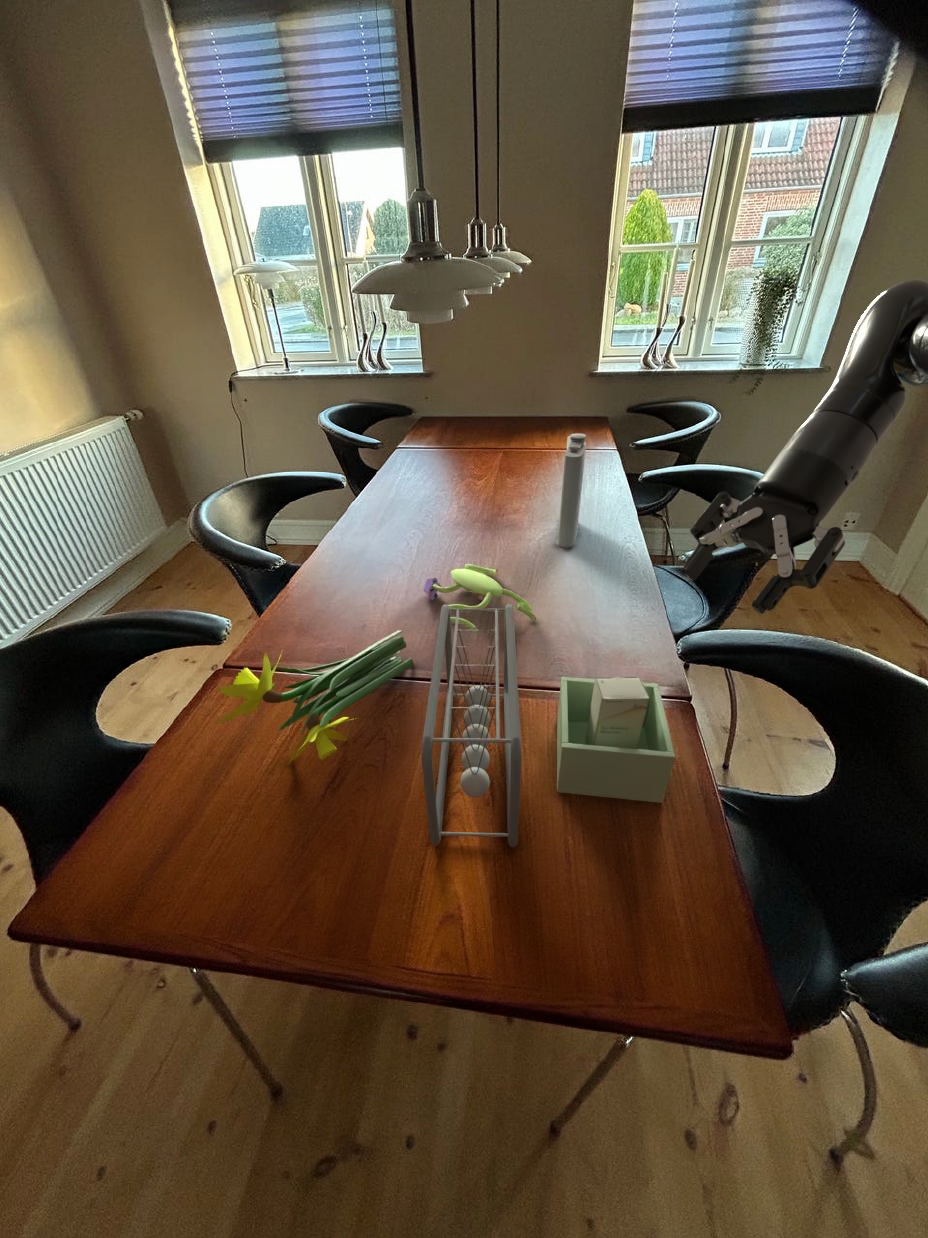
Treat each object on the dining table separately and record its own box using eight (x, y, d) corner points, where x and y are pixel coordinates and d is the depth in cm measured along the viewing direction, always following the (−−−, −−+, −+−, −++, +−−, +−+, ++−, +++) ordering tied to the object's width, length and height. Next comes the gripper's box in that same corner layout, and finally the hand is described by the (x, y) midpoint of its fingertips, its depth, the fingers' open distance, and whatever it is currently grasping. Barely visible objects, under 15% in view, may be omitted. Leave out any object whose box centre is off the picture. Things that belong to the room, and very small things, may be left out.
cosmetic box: (590, 764, 74) (600, 699, 67) (584, 740, 77) (593, 676, 71) (635, 763, 74) (650, 698, 67) (627, 739, 77) (640, 675, 70)
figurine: (453, 651, 97) (452, 626, 94) (414, 583, 118) (412, 561, 115) (543, 629, 102) (545, 605, 99) (490, 568, 123) (490, 546, 120)
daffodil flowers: (450, 682, 91) (305, 792, 62) (389, 700, 99) (233, 805, 70) (412, 592, 90) (244, 660, 61) (353, 617, 98) (179, 688, 68)
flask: (575, 548, 130) (586, 445, 116) (557, 546, 131) (565, 444, 117) (578, 519, 144) (587, 425, 130) (561, 518, 145) (568, 424, 131)
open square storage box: (662, 803, 69) (675, 757, 64) (557, 792, 71) (562, 747, 66) (648, 727, 80) (658, 683, 75) (557, 720, 82) (561, 676, 77)
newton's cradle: (447, 688, 89) (442, 598, 79) (510, 688, 88) (512, 598, 78) (430, 853, 64) (419, 753, 54) (517, 855, 64) (522, 754, 54)
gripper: (744, 433, 59) (656, 554, 61) (884, 464, 49) (774, 608, 50) (760, 470, 64) (679, 580, 66) (890, 505, 54) (790, 635, 56)
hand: (720, 592), depth 58 cm, fingers open, 8 cm apart
